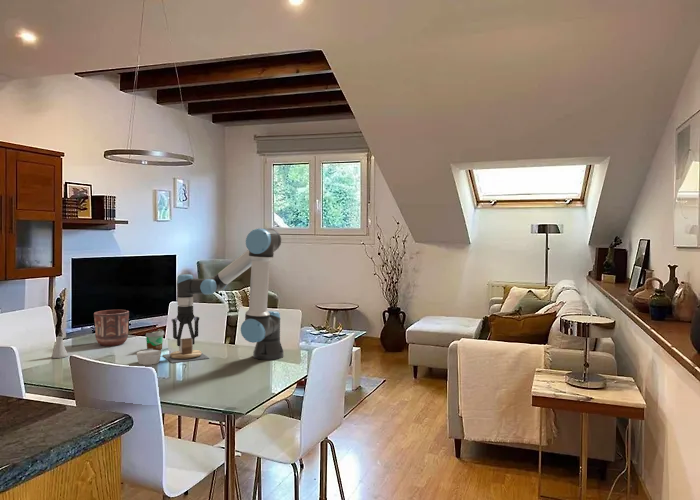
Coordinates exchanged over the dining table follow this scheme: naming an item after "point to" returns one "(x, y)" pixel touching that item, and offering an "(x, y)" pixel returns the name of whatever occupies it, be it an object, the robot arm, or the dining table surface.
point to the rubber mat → (174, 360)
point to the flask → (59, 349)
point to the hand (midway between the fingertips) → (186, 351)
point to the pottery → (111, 327)
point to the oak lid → (186, 350)
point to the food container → (155, 340)
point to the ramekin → (148, 357)
